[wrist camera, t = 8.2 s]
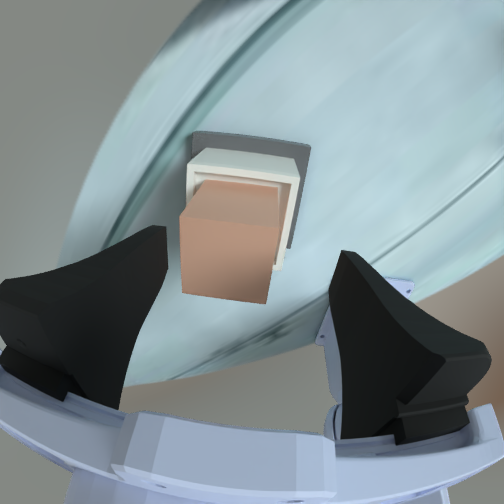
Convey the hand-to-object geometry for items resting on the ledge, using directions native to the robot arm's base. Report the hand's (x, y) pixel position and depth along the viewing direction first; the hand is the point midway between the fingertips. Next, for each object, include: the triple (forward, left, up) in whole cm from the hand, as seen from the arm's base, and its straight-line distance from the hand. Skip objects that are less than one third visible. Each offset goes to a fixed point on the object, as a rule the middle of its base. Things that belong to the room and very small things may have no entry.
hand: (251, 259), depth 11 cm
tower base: (-1, +1, -10) cm, 10 cm away
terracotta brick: (-1, +1, -5) cm, 6 cm away
